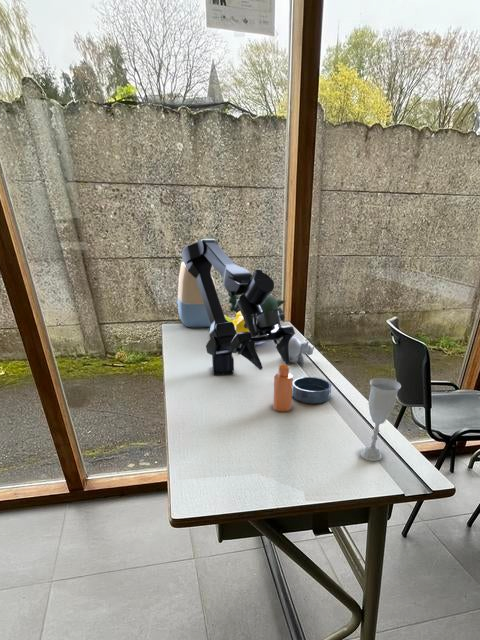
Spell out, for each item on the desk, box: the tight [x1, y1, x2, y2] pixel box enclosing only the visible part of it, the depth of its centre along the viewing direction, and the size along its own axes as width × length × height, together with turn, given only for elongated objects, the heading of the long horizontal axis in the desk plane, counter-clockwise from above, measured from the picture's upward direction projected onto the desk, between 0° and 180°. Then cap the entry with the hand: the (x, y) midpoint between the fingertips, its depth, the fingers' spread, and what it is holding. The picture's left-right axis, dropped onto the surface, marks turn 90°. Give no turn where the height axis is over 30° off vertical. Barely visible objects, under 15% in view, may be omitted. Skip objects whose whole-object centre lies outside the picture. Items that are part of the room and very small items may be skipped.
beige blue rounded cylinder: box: [177, 261, 218, 328], centre depth 184 cm, size 17×17×23 cm
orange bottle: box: [272, 364, 294, 412], centre depth 122 cm, size 5×5×12 cm
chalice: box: [360, 377, 402, 462], centre depth 100 cm, size 7×7×18 cm
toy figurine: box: [227, 292, 286, 314], centre depth 194 cm, size 9×19×25 cm
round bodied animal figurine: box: [280, 335, 315, 364], centre depth 156 cm, size 7×12×8 cm, turn 98°
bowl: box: [292, 376, 332, 405], centre depth 132 cm, size 12×12×4 cm
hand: (275, 366), depth 121 cm, fingers open, 9 cm apart
